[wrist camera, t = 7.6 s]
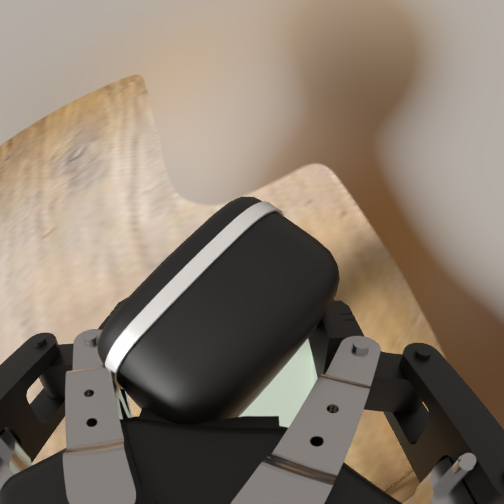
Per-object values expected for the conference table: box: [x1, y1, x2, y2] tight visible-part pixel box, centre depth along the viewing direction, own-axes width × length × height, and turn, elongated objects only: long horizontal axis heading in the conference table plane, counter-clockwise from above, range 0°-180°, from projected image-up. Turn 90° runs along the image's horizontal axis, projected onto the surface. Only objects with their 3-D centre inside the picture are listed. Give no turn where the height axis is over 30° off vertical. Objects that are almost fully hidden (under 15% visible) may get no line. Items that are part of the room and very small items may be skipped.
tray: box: [239, 339, 318, 428], centre depth 23 cm, size 14×14×2 cm
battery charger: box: [97, 197, 339, 424], centre depth 11 cm, size 7×4×11 cm, turn 139°
